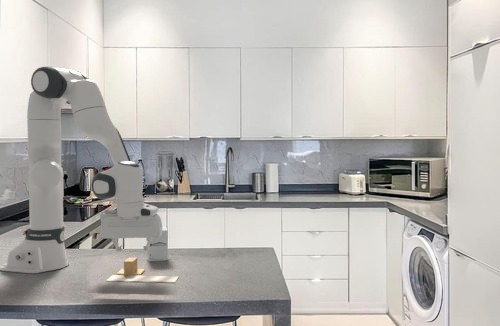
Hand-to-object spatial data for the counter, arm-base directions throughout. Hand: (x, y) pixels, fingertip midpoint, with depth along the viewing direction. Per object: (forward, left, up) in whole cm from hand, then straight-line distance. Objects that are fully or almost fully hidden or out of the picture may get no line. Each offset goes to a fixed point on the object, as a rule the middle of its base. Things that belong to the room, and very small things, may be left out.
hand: (132, 250), depth 155 cm
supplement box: (+3, +20, -9) cm, 22 cm away
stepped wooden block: (-1, 0, -8) cm, 8 cm away
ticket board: (+5, -3, -9) cm, 11 cm away
